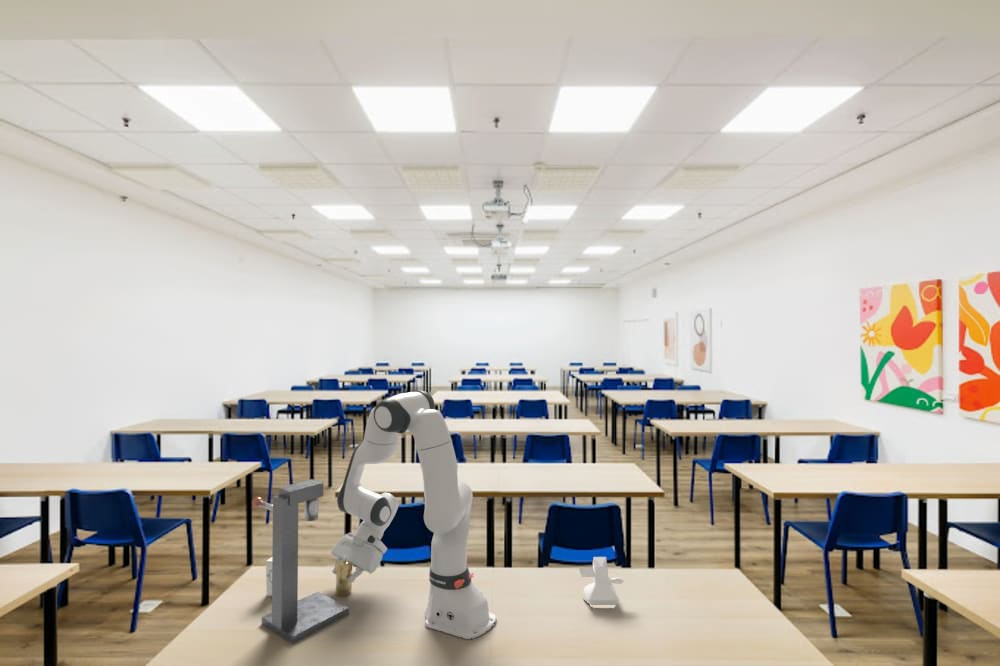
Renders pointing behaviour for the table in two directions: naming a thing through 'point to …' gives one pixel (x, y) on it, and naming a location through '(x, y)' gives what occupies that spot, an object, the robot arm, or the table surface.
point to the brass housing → (343, 577)
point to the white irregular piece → (600, 584)
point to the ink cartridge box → (269, 576)
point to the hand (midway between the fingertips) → (342, 577)
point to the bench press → (295, 567)
